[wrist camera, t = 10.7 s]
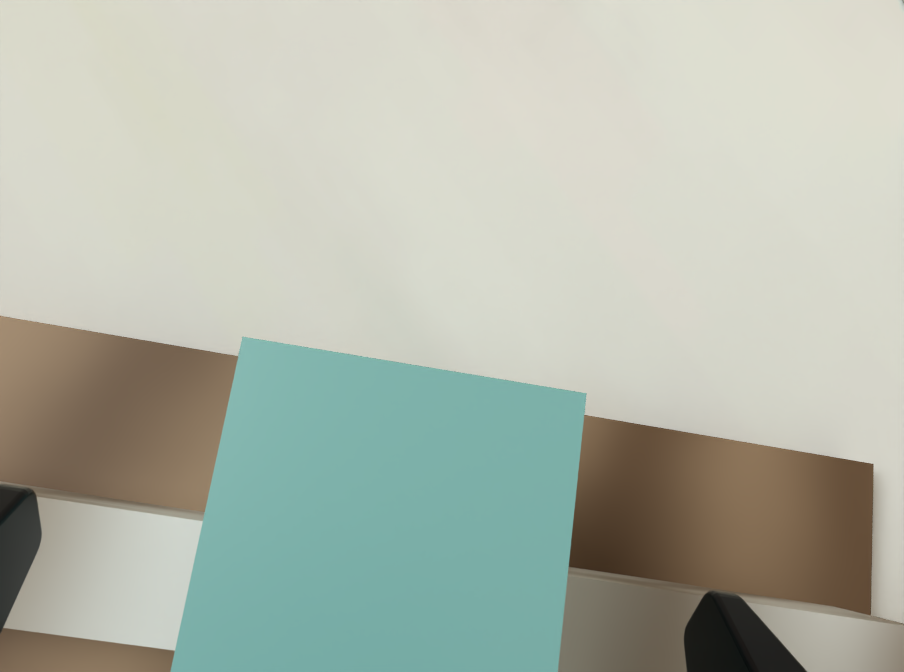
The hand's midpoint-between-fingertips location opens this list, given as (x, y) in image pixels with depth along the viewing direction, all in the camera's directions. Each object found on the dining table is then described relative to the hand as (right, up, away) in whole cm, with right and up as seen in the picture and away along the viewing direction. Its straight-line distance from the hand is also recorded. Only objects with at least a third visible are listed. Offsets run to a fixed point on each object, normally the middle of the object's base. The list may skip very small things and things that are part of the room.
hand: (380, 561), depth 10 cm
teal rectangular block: (-1, -3, +8) cm, 8 cm away
